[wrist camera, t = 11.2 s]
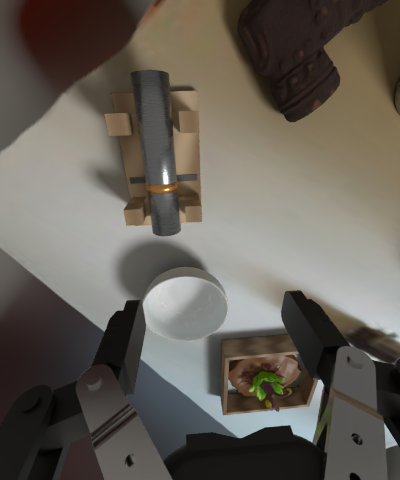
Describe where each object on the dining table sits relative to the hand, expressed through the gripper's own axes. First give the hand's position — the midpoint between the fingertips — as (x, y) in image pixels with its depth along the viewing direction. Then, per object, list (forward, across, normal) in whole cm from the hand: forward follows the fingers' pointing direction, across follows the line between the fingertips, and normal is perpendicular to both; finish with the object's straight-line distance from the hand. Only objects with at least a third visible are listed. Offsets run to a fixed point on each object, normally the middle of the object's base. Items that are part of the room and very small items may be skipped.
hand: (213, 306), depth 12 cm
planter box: (+29, -18, +52) cm, 63 cm away
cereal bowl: (+29, +3, +22) cm, 37 cm away
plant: (+30, -18, +53) cm, 64 cm away
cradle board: (+29, +5, -4) cm, 30 cm away
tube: (+25, +5, -5) cm, 26 cm away
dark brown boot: (+30, -15, -20) cm, 39 cm away
